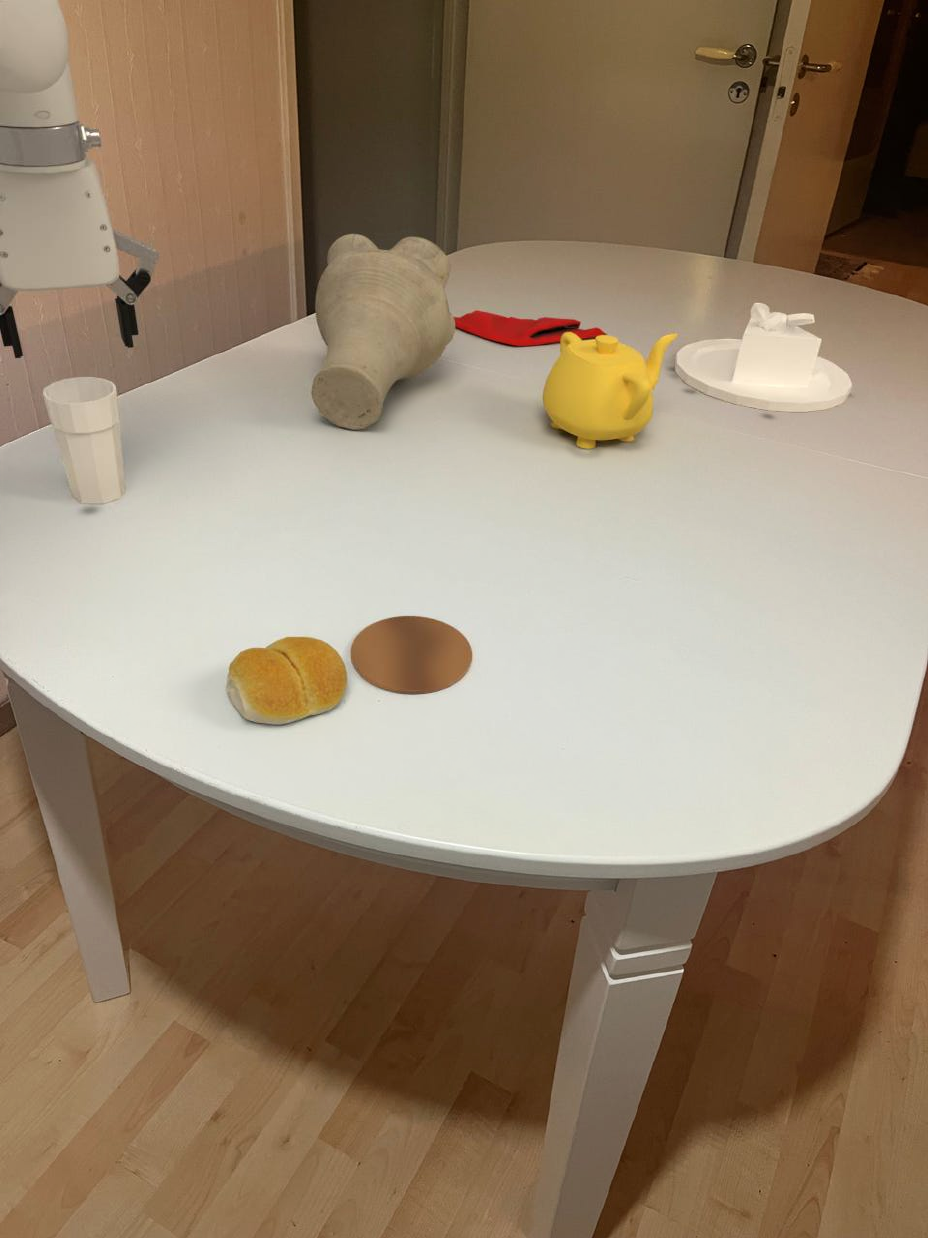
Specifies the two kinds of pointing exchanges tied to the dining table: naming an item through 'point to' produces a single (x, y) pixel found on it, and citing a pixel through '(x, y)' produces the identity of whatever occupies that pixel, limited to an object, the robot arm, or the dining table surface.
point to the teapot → (602, 388)
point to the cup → (88, 436)
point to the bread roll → (286, 680)
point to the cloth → (521, 328)
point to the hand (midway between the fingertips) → (74, 347)
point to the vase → (378, 323)
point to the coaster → (411, 654)
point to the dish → (766, 366)
